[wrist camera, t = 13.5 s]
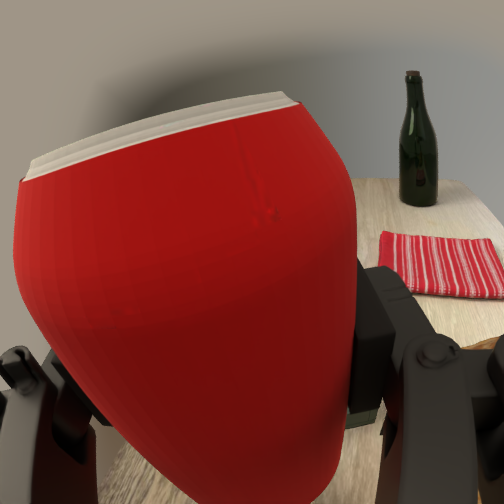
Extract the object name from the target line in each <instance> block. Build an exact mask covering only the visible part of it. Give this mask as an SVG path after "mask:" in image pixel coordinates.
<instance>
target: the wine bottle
mask: <svg viewBox="0 0 504 504" xmlns="http://www.w3.org/2000/svg"><path fill="white" fill-rule="evenodd" d="M406 74H407V76H405V82H406V90H407V108H406V114H405V117H404V121H403V124H402V127H401V131H400V138H399V197H400V199H401V200H402V201H403V202H405V203H407V204H410V205H414V206H430V205H432V204H434V203H436V201H437V197H438V147H437V146H438V145H437V138H436V133H435V130H434V128H433V125H432V123H431V120H430V117H429V115H428V112H427V109H426V104H425V99H424V92H423V79H422V77H421V76H420V72H419V71H406Z"/></svg>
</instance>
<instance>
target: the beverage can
mask: <svg viewBox="0 0 504 504" xmlns="http://www.w3.org/2000/svg"><path fill="white" fill-rule="evenodd" d="M15 215H16V216H15V226H14V243H13V259H14V268H15V274H16V279H17V284H18V287H19V291H20V293H21V296H22V299H23V301H24V303H25V305H26V307H27V309H28V311H29V312H30V314H31V316H32V317H33V319H34V321H35V323H36V324H37V326H38V327H39V329H40V331H41V332H42V334H43V335H44V337H45V339H46V340H47V342H48V343H49V344H50V346H51V348H52V349H53V351H54V352H55V354H56V355H57V356H58V358H59V359H60V361H61V362H62V364H63V365H64V366H65V368H66V369H67V370H68V372H69V373H70V374H71V376H72V377H73V378H74V380H75V381H76V382H77V384H78V385H79V386H80V388H81V389H82V390H83V391H84V393H85V394H86V395H87V396H88V398H89V399H90V400H91V401H92V402H93V404H94V405H95V406H96V407H97V408H98V410H99V411H100V412H101V413H102V414H103V415H104V416H105V418H106V419H107V420H108V421H109V422H110V423H111V424H112V425H113V426H114V427H115V429H116V430H117V431H118V432H119V433H120V434H121V435H122V436H123V437H124V438H125V439H126V440H127V441H128V442H129V443H130V444H131V445H132V446H133V447H134V448H135V449H136V450H137V451H138V452H139V453H140V454H141V455H142V456H143V457H144V458H145V459H146V460H147V461H148V462H149V463H150V464H151V465H153V466H154V467H155V468H156V469H157V470H158V471H159V472H160V473H161V474H163V475H164V476H165V477H166V478H167V479H168V480H169V481H171V482H172V483H173V484H174V485H175V486H177V487H178V488H179V489H180V490H181V491H183V492H184V493H185V494H186V495H188V496H189V497H190V498H192V499H193V500H194V501H195V502H197V503H198V504H310V503H311V502H312V501H314V500H315V499H316V498H317V497H318V496H319V495H320V494H321V493H322V492H323V491H324V490H325V488H326V487H327V486H328V484H329V483H330V481H331V480H332V478H333V476H334V474H335V472H336V469H337V467H338V464H339V460H340V455H341V449H342V443H343V437H344V430H345V423H346V416H347V408H348V397H349V388H350V378H351V368H352V356H353V342H354V328H355V316H356V289H357V218H356V203H355V196H354V191H353V187H352V183H351V180H350V177H349V174H348V172H347V170H346V168H345V165H344V163H343V161H342V160H341V158H340V156H339V155H338V153H337V152H336V150H335V149H334V147H333V146H332V144H331V143H330V141H329V140H328V139H327V137H326V136H325V134H324V133H323V131H322V130H321V129H320V127H319V126H318V124H317V123H316V122H315V120H314V119H313V118H312V116H311V115H310V114H309V112H308V111H307V110H306V108H305V107H304V106H303V105H302V103H301V102H296V101H293V100H291V99H289V98H288V97H287V96H286V95H285V94H284V93H283V92H282V91H279V92H272V93H264V94H258V95H251V96H245V97H239V98H233V99H228V100H223V101H217V102H212V103H208V104H203V105H198V106H194V107H189V108H185V109H181V110H177V111H173V112H169V113H165V114H161V115H157V116H154V117H150V118H146V119H143V120H140V121H136V122H133V123H130V124H127V125H123V126H120V127H117V128H114V129H111V130H108V131H105V132H102V133H99V134H96V135H93V136H90V137H88V138H85V139H82V140H80V141H77V142H74V143H72V144H69V145H67V146H64V147H62V148H59V149H57V150H54V151H52V152H50V153H48V154H45V155H43V156H40V157H38V158H36V159H34V160H32V161H31V164H30V170H29V171H28V172H27V175H26V177H24V178H23V179H21V180H20V182H19V190H18V196H17V205H16V214H15Z"/></svg>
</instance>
